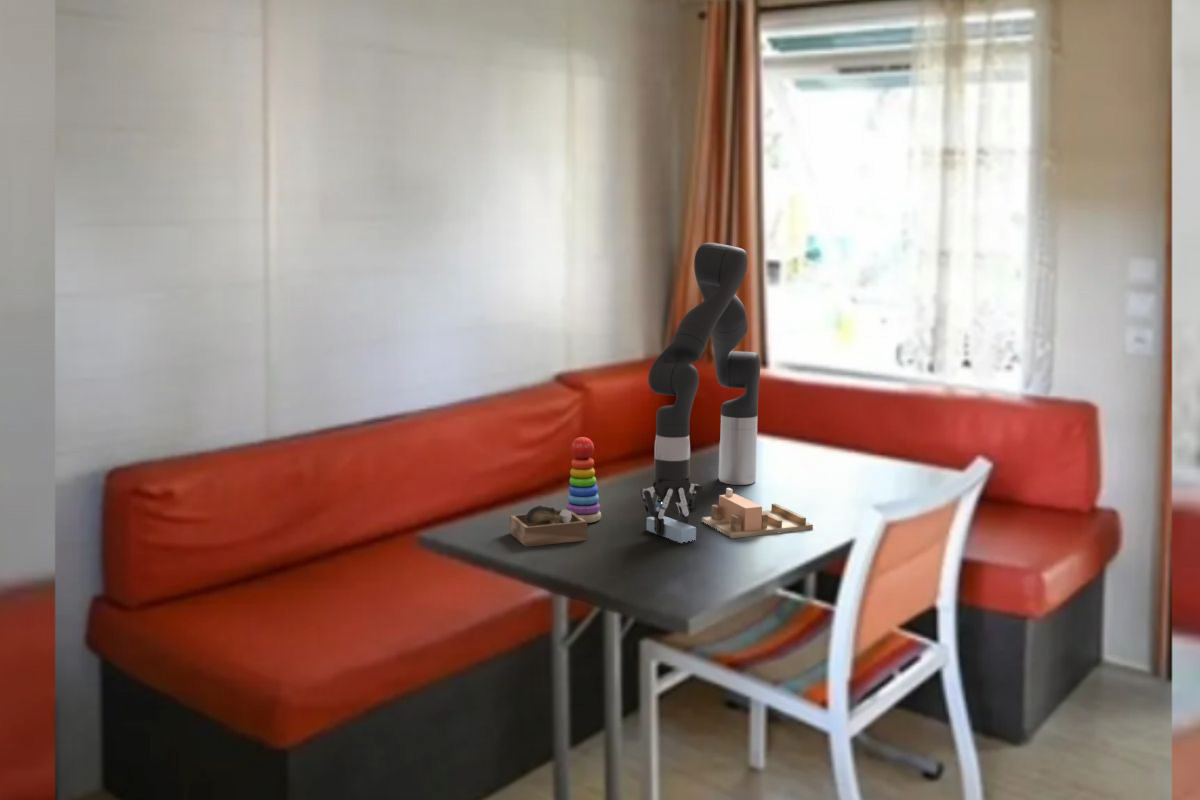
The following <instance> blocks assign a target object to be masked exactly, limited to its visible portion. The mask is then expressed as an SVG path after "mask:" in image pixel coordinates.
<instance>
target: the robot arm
mask: <svg viewBox="0 0 1200 800" xmlns="http://www.w3.org/2000/svg"><path fill="white" fill-rule="evenodd" d="M747 254H748V253H747V252H746V250H744V249H743V248H740V247H738V246H732V245H727V244H722V243H717V242H705V243H702V244H701V245H700V246H698V248H697V250H696V252H695V255H694V261H693V262H694V263H693V265H694V266H693V269H694V276H695V279H696V282H697V284H698V289H699V291H700V294H701V296H702V299H703V301H702V302H700V303H699V304H697V305H696V306H695V307H694V308H692V309H691V310H689V311H688V312H687V313H686V314H685V315H684V317H683V318H682V319H681V320H680V323H679V325H678V328H677V329H676V332H675V334H674V337H673V338H672V340H671V343H669V345H667V347H666V348H665V349H664V350H663V351H662V352H661V354H660V355H659V356H658V357H657V358H656V359H655V360H654V362H653V364H652V365H651V367H650V369H649V372H648V377H647V380H648V386H649V388H650V390H651V391H652V392H653V393H655V394H658V395H664V396H675V397H676V399H675V402H674V404H672V405H671V404H670V405H664V406H661V407H659V408H658V409H657V410H656V422H655V427H656V428H655V440H654V459H653V461H654V469H653V473H654V474H653V475H654V481H653V484H652V486H651V487H648V488H644V487H643V488H641V489H640V495H641V498H642V502H643V506H644V511H645V514H647V515H648V516H649V517H654V530H655V532H656V533H657V534H656V535H658V536H661V537H663V536H662V535H664V519H663V516H665V512H666V510H667V509H668V506H669V504H672V503H675V504H676V506H677V509H678V513H679V514H678V517H677V521H680V522H682V523H685V524H688V525H689V523H688V522H689V521H688V519H689V515H690V514H692V513H696V512H697V509H698V506H699V503H700V498H701V495H702V491H703V486H702V485H700V484H698V483H691V481H690V476H691V475H690V474H691V473H690V472H691V471H690V470H691V442H690V424H691V423H690V419H691V412H692V408H693V404H694V400H695V398H696V394H697V391H698V389H699V384H700V383H699V382H700V375H699V372H698V369H697V367H696V366H694V364H693V363H697V361H699V360H701V357H702V355H703V353H704V352H705V349H706V346H707V343H708V342H709V339H710V338H711V342H712V347H713V355H714V366H715V376H716V380H717V382H718V384H719V385H720V386H721V387H723V388H729V389H745V391H744V393H743V394H741V395H740V396H739V397H736V398H734V399H730V400H726V401H724V402H722V403H721V406H720V440H719V443H718V445H719V446H718V447H719V448H718V480H719V482H720V483H723V484H727V485H732V486H734V485H735V486H736V485H737V486H744V485H745V486H746V485H752V484H754V483H756V481H757V480H756V478H757V477H756V476H757V450H758V449H757V448H758V446H757V445H758V444H757V443H758V418H759V417H758V415H759V414H758V413H759V411H758V410H759V390H760V388H759V387H760V377H761V358H760V355H759V353H757V352H755V351H736V350H734V349H735V348H736V347H737V346H738V345H739V344H740V343H741V342H742V340H743V339H744V338H745V337H746V335H747V331H748V317H747V311H746V308H745V306H744V303H743V302H742V301H741V300H740V298H739V297H738V296H737V295H736V293H737V292H738V291H739V288H740V287H741V285H742V283H743V281H744V279H745V276H746V273H747V269H748V263H749V262H748V260H749V259H748V255H747ZM688 492H689V496H688V500H687V499H686V495H687V493H688ZM654 493H655V495H656V500H655V504H654V502H653V498H654ZM654 505H655V506H654Z"/></svg>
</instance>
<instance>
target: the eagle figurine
mask: <svg viewBox="0 0 1200 800" xmlns="http://www.w3.org/2000/svg"><path fill="white" fill-rule="evenodd" d="M561 510H562V511H561V512H560V514H559V515H557V511H558V510H556V509H555V508H554V507H547V506H543V505H537V506H535V507H533V508H531V509H529V511H528V512H527V513H526V514H527V516H526V517H525V518H526V520H527V522H528V523H546V524H545V525H549V524H559V523H569V522H570V520H571V518H572V514H571V512H570V511H568V510H567V508H563V509H561Z"/></svg>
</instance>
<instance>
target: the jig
mask: <svg viewBox="0 0 1200 800" xmlns="http://www.w3.org/2000/svg"><path fill="white" fill-rule="evenodd" d="M721 510H722V507H720V506H719V504H711V512H710V513H711V516H703V517H701V523H703V522H704V523H703V524H705V523H706V524H705V525H707V524H708V525H710V526H711V527H710V526H709V527H710V528H712V527H713V528H712V529H714V528H715V529H714V530H716V529H717V530H716V531H717V532H719V531H720V533H721V532H722V533H721V534H723V535H725V536H727V537H728V536H729V537H728V538H730V539H736V538H737V539H738V538H740V539H741V538H746V537H747V538H748V537H756V536H757V535H758V536H765V534H766V535H772V534H771V533H775V534H779V533H778V532H784V533H789V532H788V531H793V532H799V531H798V530H802V531H807V530H808V531H809V529H811V530H813V529H814V524H812V523H810V522H808V521H807V518H806V516H803V515H801V514H798V513H797V512H794V511H793V510H790V509H789V508H786V507H784V506H781V505H780V504H778V503H771V509H770V510H769V509H768V510H762V525H761V529H758V530H749V531H744V530H742V529H741V517H740V516H738V515H731V523H729V522H727V521H725V520H723V519H721ZM708 525H707V526H708Z"/></svg>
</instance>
